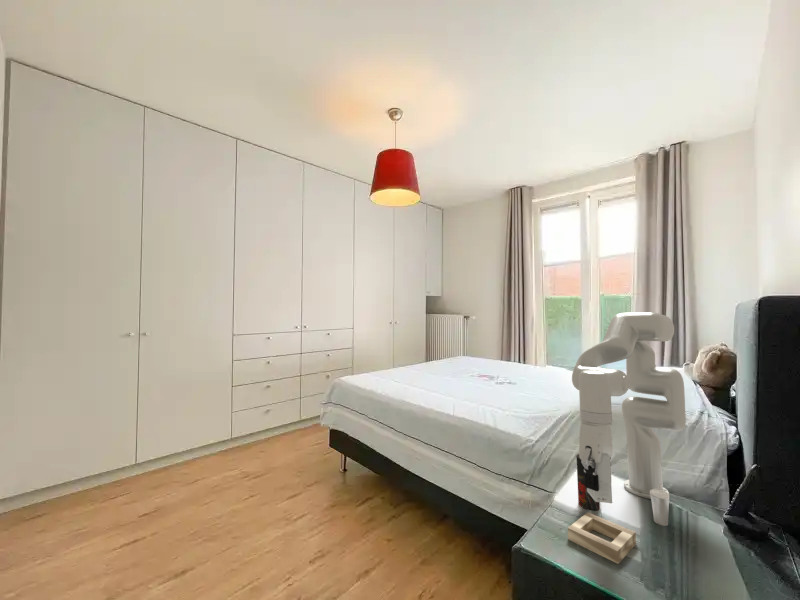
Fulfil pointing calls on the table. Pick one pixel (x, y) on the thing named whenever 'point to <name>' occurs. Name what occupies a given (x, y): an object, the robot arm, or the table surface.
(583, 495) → the deodorant
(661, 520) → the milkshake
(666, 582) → the table surface
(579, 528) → the holder
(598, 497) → the skincare box
